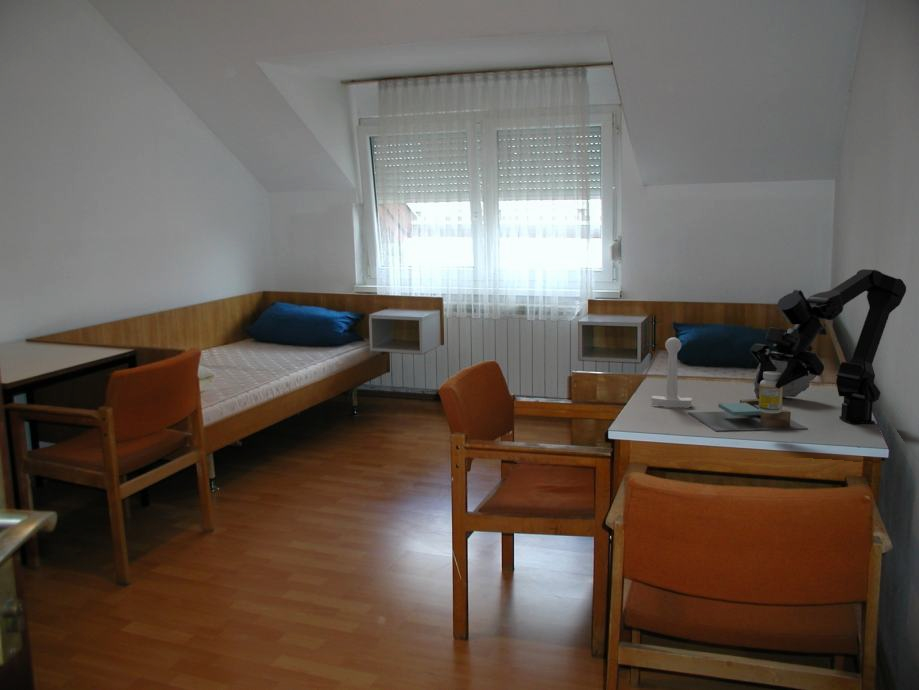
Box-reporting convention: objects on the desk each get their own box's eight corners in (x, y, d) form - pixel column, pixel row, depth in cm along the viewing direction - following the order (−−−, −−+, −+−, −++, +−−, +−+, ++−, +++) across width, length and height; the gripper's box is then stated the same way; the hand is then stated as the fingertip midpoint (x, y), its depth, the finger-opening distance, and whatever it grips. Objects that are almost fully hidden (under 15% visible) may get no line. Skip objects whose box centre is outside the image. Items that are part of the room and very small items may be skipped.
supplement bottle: (773, 414, 193) (775, 375, 192) (754, 410, 198) (755, 372, 196) (786, 411, 196) (788, 372, 195) (767, 407, 201) (768, 369, 199)
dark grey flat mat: (772, 411, 224) (773, 397, 224) (807, 429, 205) (808, 413, 204) (688, 413, 223) (688, 398, 222) (715, 431, 203) (716, 415, 203)
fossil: (814, 398, 241) (817, 348, 239) (815, 402, 235) (818, 352, 233) (753, 394, 247) (755, 346, 245) (752, 398, 241) (755, 349, 239)
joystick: (650, 406, 232) (652, 337, 229) (653, 400, 239) (655, 334, 236) (690, 408, 228) (693, 339, 225) (692, 403, 235) (694, 335, 232)
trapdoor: (766, 411, 219) (766, 402, 219) (783, 420, 209) (784, 410, 209) (717, 412, 218) (718, 403, 218) (733, 421, 208) (733, 412, 208)
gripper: (756, 311, 203) (722, 358, 200) (818, 319, 187) (782, 370, 184) (777, 340, 208) (744, 386, 205) (839, 349, 192) (805, 400, 188)
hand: (767, 385), depth 195 cm, fingers closed on supplement bottle, 5 cm apart
